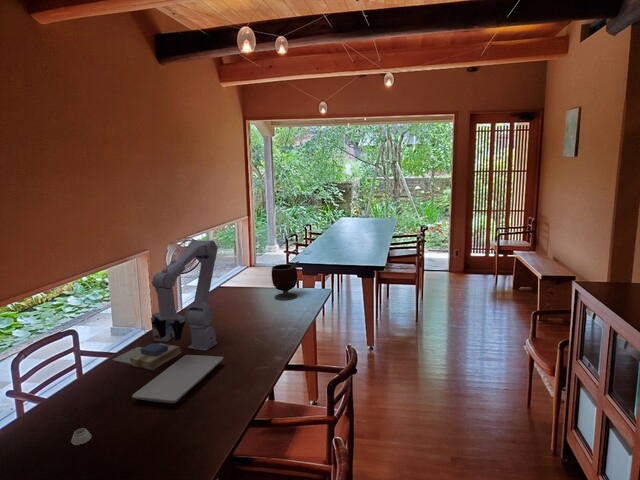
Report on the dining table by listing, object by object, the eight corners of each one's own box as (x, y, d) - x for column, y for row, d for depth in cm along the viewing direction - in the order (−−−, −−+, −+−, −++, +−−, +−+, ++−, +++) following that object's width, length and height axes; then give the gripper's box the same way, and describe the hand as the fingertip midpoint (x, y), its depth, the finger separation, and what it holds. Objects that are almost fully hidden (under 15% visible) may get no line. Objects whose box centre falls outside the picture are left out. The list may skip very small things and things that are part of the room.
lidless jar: (86, 445, 125) (94, 434, 130) (84, 436, 124) (93, 425, 129) (68, 447, 124) (77, 436, 129) (66, 437, 124) (75, 426, 129)
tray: (131, 405, 145) (129, 395, 144) (186, 362, 175) (185, 353, 174) (177, 410, 140) (175, 400, 139) (225, 365, 170) (224, 356, 169)
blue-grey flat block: (167, 350, 178) (167, 345, 178) (156, 356, 173) (155, 351, 172) (152, 347, 182) (152, 343, 181) (141, 353, 176) (140, 349, 176)
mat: (157, 350, 186) (157, 350, 186) (132, 364, 174) (132, 363, 174) (137, 347, 191) (137, 346, 191) (111, 360, 179) (111, 359, 179)
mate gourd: (270, 301, 243) (267, 264, 240) (277, 293, 257) (274, 258, 253) (298, 301, 241) (296, 264, 237) (303, 293, 254) (301, 258, 251)
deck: (180, 353, 182) (179, 346, 181) (152, 370, 169) (151, 362, 168) (160, 350, 187) (159, 343, 186) (131, 365, 173) (130, 358, 173)
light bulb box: (167, 342, 195) (164, 318, 193) (153, 341, 196) (150, 317, 194) (179, 332, 205) (176, 309, 203) (166, 332, 206) (163, 309, 205)
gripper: (144, 305, 169) (148, 339, 172) (173, 309, 163) (177, 344, 165) (158, 299, 175) (162, 333, 178) (187, 303, 169) (191, 337, 171)
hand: (170, 338), depth 172 cm, fingers open, 7 cm apart
